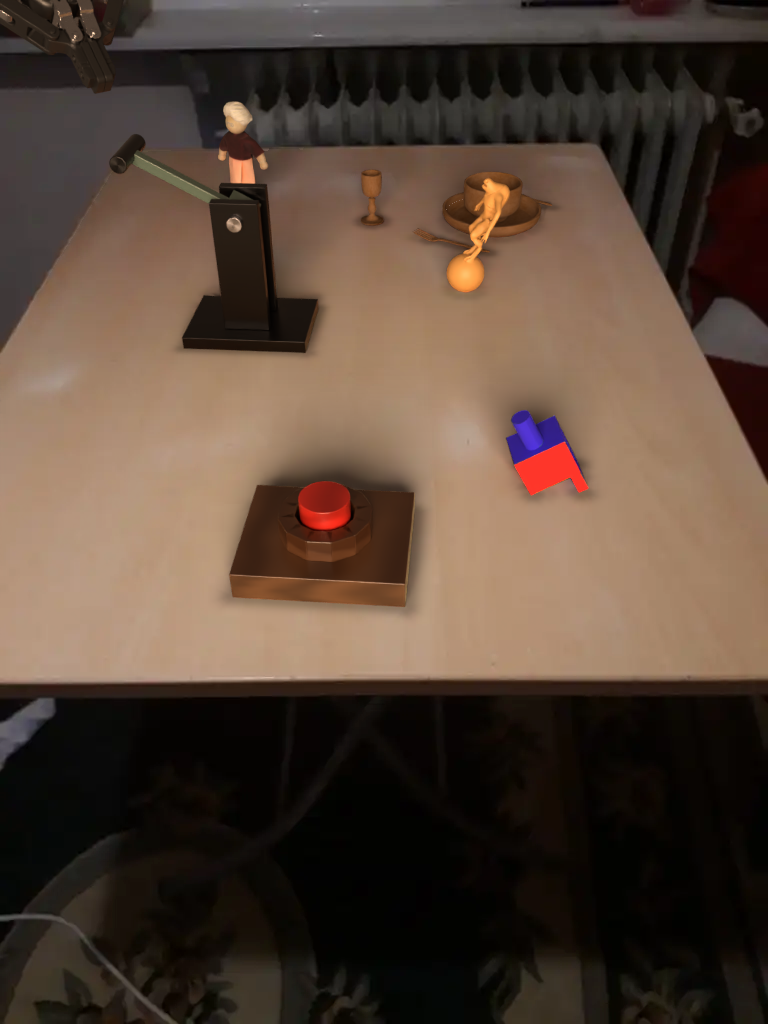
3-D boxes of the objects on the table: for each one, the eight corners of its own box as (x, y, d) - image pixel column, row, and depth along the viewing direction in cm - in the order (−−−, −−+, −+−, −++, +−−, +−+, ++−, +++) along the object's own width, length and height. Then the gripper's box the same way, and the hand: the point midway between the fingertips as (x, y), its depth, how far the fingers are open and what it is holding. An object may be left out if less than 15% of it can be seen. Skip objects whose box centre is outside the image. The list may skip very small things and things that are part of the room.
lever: (105, 172, 83) (113, 148, 82) (125, 149, 88) (133, 126, 86) (243, 243, 86) (253, 221, 85) (255, 217, 91) (265, 196, 89)
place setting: (504, 259, 107) (508, 208, 103) (354, 224, 115) (352, 176, 111) (563, 206, 119) (568, 159, 115) (422, 178, 126) (423, 133, 123)
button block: (232, 597, 66) (225, 554, 63) (259, 506, 73) (254, 465, 71) (405, 607, 65) (405, 564, 62) (414, 514, 72) (415, 472, 70)
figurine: (443, 273, 104) (447, 163, 97) (498, 272, 104) (506, 163, 97) (448, 308, 98) (452, 194, 90) (506, 307, 98) (515, 193, 90)
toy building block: (530, 482, 78) (491, 412, 73) (578, 461, 77) (541, 388, 72) (539, 510, 75) (499, 438, 70) (589, 488, 74) (551, 414, 69)
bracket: (183, 348, 92) (160, 210, 83) (205, 305, 99) (186, 173, 90) (305, 353, 91) (295, 214, 82) (318, 309, 98) (310, 176, 89)
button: (296, 531, 65) (294, 511, 64) (304, 498, 68) (302, 479, 67) (347, 533, 65) (347, 514, 64) (353, 501, 68) (352, 481, 67)
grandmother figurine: (211, 208, 119) (198, 102, 111) (227, 197, 122) (215, 93, 114) (265, 217, 117) (256, 110, 109) (280, 206, 120) (271, 100, 112)
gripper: (-58, -119, 77) (36, 75, 77) (95, -132, 83) (181, 48, 83) (-59, -53, 83) (28, 126, 84) (83, -69, 89) (163, 97, 90)
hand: (104, 87), depth 83 cm, fingers closed
